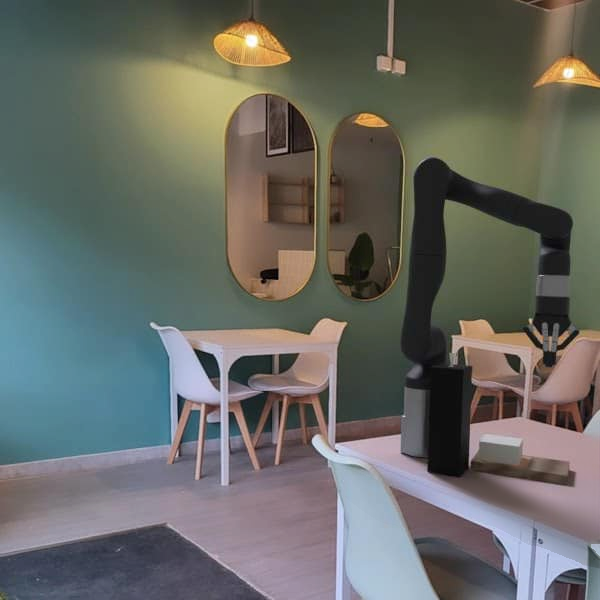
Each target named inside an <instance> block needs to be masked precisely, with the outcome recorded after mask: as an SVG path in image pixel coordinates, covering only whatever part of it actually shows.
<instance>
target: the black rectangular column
mask: <svg viewBox="0 0 600 600" xmlns="http://www.w3.org/2000/svg"><path fill="white" fill-rule="evenodd" d="M455 354H456V353H455V352H454V353H453V352H449V363H446V362H445V363H439V364H436V365H433V366H430V398H429V432H428V457H427V468H426V469H427V470H426V471H427V472H429V473H433V474H434V473H435V474H440V475H444V476H450V477H454V478H457V477H458V478H461V477H462V476H463V475H464V473H466V472H467V471H468V470H469V468H470V467H469V466H470V444H471V442H470V441H471V438H470V436H471V412H472V411H471V410H472V409H471V407H472V376H473V365H465V364H456V363H455V358H456V357H455V356H456V355H455Z"/></svg>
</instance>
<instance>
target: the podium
mask: <svg viewBox="0 0 600 600" xmlns="http://www.w3.org/2000/svg"><path fill="white" fill-rule="evenodd" d="M470 470H471V471H478V472H484V473H491V474H497V475H503V476H511V477H515V478H522V479H529V480H536V481H543V482H548V483H554V484H561V485H565V486H566V485H568V482H569V476H570V475H569V474H570V461H567V460H559V459H552V458H546V457H538V456H532V455H524V454H522V459H521V461H520V464H519V466H516V465H509V464H503V463H496V462H489V461H483V460H479V450H477V452H476V453H475V455H474V456H473V457H472V459H471V460H470Z"/></svg>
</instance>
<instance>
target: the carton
mask: <svg viewBox="0 0 600 600" xmlns="http://www.w3.org/2000/svg"><path fill="white" fill-rule="evenodd" d="M478 442H479V443H478V444H479V445H478V451H479V460H483V461H489V462H496V463H503V464H509V465H516V466H519V464H520V461H521V459H522V455H523V449H524V448H523V447H524V446H523V445H524V439H523V438H520V437H519V438H517V437H510V436H503V435H496V434H495V435H494V434H488V433H487V434H486V433H485V434H484V435H483V436H482V437H481V439H480V440H479V441H478Z"/></svg>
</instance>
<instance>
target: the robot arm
mask: <svg viewBox="0 0 600 600" xmlns="http://www.w3.org/2000/svg"><path fill="white" fill-rule="evenodd" d="M446 200H447V201H451V202H455V203H458V204H462V205H465V206H467V207H470V208H472V209H474V210H477V211H479V212H482V213H484V214H486V215H488V216H491V217H493V218H495V219H498V220H499V221H503V222H505V223H507V224H510V225H512V226H515V227H520V228H525V229H528V230H530V231H533V232H535V233H537V234H538V235H540V236H539V241H540V242H539V246H540V248H539V249H540V251H539V256H538V265H537V268H538V269H537V279H536V285H535V287H536V288H535V306H534V307H535V308H534V317H533V318H532V321H531V323H529V324H527V325H526V326H524V327H523V328H522V330H523V332H524V333H525V334H526V335H527V337H528V338H529V340H530V341H531V343H532V344H533V346H535V348H537V349H538V350H539V349H540V350H542V352H543V353H542V364H543V365H545V368H551V369H552V368H553V366H555V365H556V364H557V352H558V351H563V350H565V349H566V348H567V347H568V346H569V345H570V344H571V342H573V341H574V340H575V338H576V337H577V336H579V334H580V329H577V328H576V327H574V325H572V322H571V319H570V305H571V304H570V303H571V276H570V275H571V254H570V250H571V249H570V248H571V237H572V231H573V230H572V229H573V226H574V221H573V217H572V216H571V214H570V213H569V212H567V211H565V210H564V209H561V208H559V207H555V206H553V205H549V204H545V203H541V202H538V201H535V200H532V199H529V198H528V197H525V196H523V195H520V194H518V193H515V192H512V191H509V190H506V189H502V188H499V187H495V186H490V185H486V184H483V183H480V182H476V181H473V180H471V179H469V178H467V177H465V176H463V175H461V174H460V173H459V172H456V171H454V169H453V170H452V168H451V167H449V165H448V164H447V163H446V162H445V161H444V160H442V159H440V158H438V157H436V156H435V157H433V156H431V157H430V156H429V157H426V158H424V159H423V160H421V161H420V162H419V163H418V165H416V168H415V169H414V172H413V203H414V205H413V207H414V210H413V221H412V229H411V237H410V247H409V258H408V272H407V273H408V275H407V289H406V302H405V303H406V304H405V310H404V316H403V322H402V327H401V333H400V348H401V349H400V350H401V352H402V355H403V356H404V357H405V358H406V359H407V360H408V361H410V362H412V363H413V365H412V367H411V369H410V370H409V371H408V372H407V374H405V377H404V397H403V398H404V402H403V405H404V407H403V408H404V409H403V415H401V419H400V421H401V422H400V424H401V425H400V453H402V454H406V455H408V456H411V457H416V458H428V432H429V398H430V366H433V365H436V364H439V363H445V364H446V362H447V361H446V360H447V359H446V358H447V341H446V340H447V339H446V336H445V333H444V332H443V330H442V329H441V328H440V327H438V326H436V325H433V324H432V310H433V306H434V303H435V300H436V298H437V297H438V296H437V295H438V294H439V291H440V289H441V286H442V285H443V281H444V279H445V274H446V267H447V266H446V265H447V252H448V251H447V236H446V228H445V216H444V215H445V214H444V212H445V204H446ZM535 329H536V331H537V332H538V334H539V335H540V336H542V342H541V341H540V340H539V339H538V337H537V336H536V334H535V333H534V332H535ZM566 331H568V332H567V334H568V336H567V338H566V339H564V341H562V343H560V344H558V343H559V339H560V337H562V336H563V334H565V332H566ZM550 337H551V345H550Z"/></svg>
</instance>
